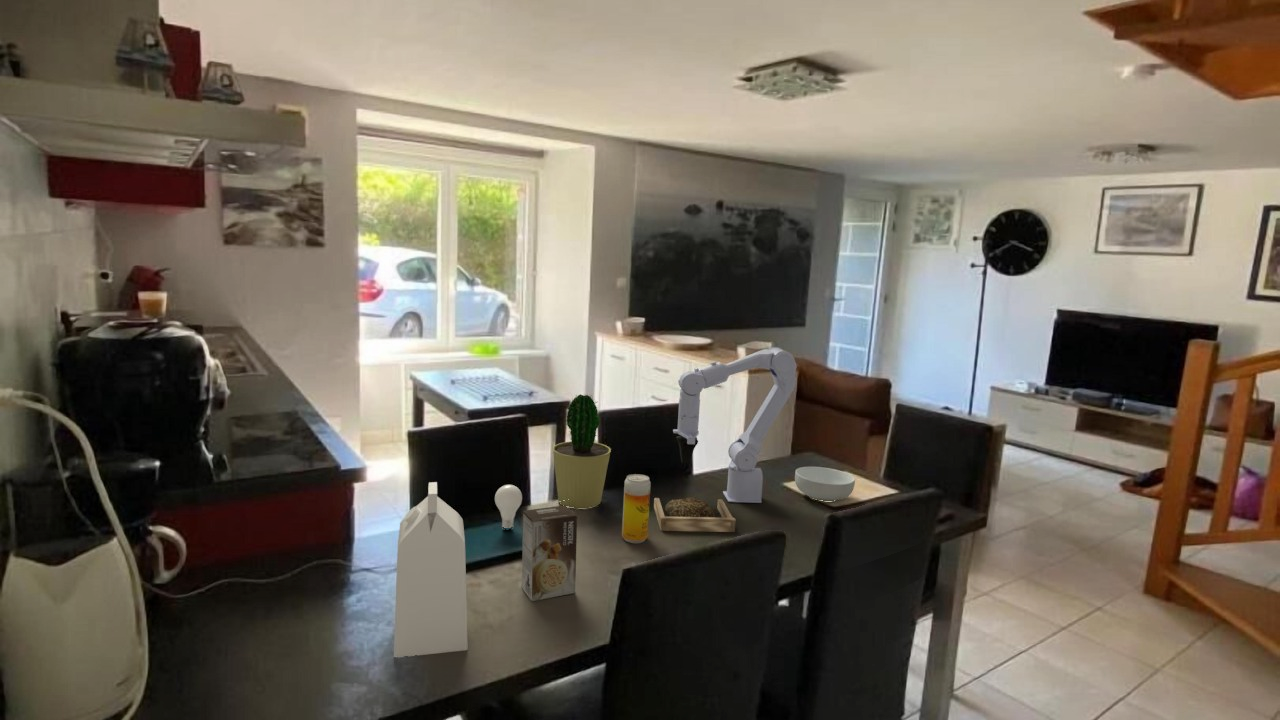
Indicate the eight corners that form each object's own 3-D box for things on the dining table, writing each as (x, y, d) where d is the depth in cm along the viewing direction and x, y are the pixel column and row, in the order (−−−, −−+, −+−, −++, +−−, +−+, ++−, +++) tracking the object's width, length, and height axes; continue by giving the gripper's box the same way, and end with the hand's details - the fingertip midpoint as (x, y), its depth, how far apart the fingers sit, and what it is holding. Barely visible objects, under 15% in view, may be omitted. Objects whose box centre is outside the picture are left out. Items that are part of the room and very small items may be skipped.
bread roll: (671, 525, 173) (672, 506, 172) (661, 507, 185) (662, 489, 184) (720, 524, 175) (721, 505, 174) (707, 507, 187) (708, 489, 186)
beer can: (647, 544, 159) (650, 482, 157) (621, 543, 159) (624, 481, 157) (647, 534, 165) (651, 474, 163) (622, 533, 165) (625, 472, 163)
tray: (721, 508, 186) (722, 497, 185) (734, 532, 170) (735, 519, 169) (653, 506, 184) (654, 495, 184) (660, 530, 168) (661, 518, 168)
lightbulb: (488, 531, 162) (489, 486, 160) (503, 522, 168) (504, 479, 166) (511, 537, 159) (513, 491, 158) (526, 527, 165) (527, 483, 164)
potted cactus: (619, 500, 187) (624, 392, 183) (586, 517, 174) (591, 401, 170) (573, 488, 195) (578, 384, 191) (538, 503, 182) (542, 392, 178)
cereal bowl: (860, 510, 190) (862, 485, 189) (800, 506, 190) (802, 482, 189) (843, 489, 207) (845, 467, 206) (788, 486, 207) (790, 464, 206)
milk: (467, 650, 113) (470, 498, 110) (393, 658, 110) (393, 502, 106) (464, 613, 125) (467, 475, 121) (397, 619, 121) (397, 477, 118)
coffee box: (563, 579, 140) (566, 504, 138) (575, 593, 134) (579, 515, 132) (520, 587, 136) (522, 509, 133) (530, 602, 130) (533, 521, 128)
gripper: (671, 408, 197) (668, 454, 199) (677, 420, 182) (674, 470, 184) (695, 409, 197) (692, 455, 199) (704, 421, 183) (700, 470, 185)
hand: (685, 462), depth 192 cm, fingers closed
